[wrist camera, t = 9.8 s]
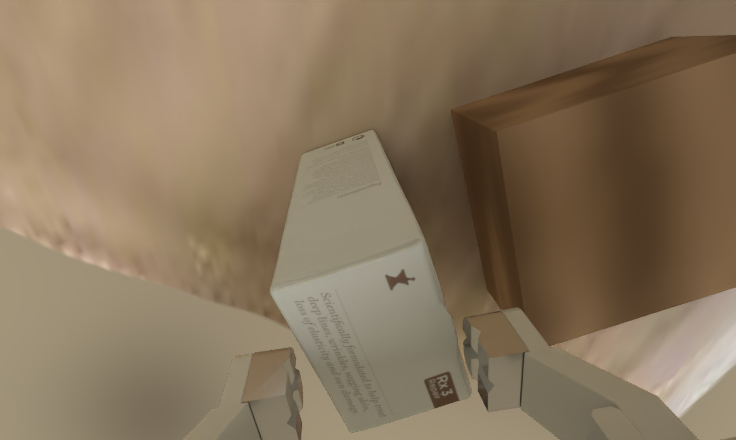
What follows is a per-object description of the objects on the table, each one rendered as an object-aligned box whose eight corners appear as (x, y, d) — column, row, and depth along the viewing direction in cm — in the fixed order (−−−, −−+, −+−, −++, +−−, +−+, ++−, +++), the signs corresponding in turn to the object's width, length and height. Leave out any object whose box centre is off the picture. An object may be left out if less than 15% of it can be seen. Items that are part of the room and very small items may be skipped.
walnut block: (667, 37, 20) (795, 33, 15) (660, 230, 25) (753, 281, 20) (449, 109, 21) (496, 131, 15) (485, 287, 26) (530, 351, 20)
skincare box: (297, 154, 20) (246, 289, 9) (378, 124, 20) (425, 230, 9) (339, 250, 23) (337, 444, 12) (411, 226, 22) (479, 403, 12)
